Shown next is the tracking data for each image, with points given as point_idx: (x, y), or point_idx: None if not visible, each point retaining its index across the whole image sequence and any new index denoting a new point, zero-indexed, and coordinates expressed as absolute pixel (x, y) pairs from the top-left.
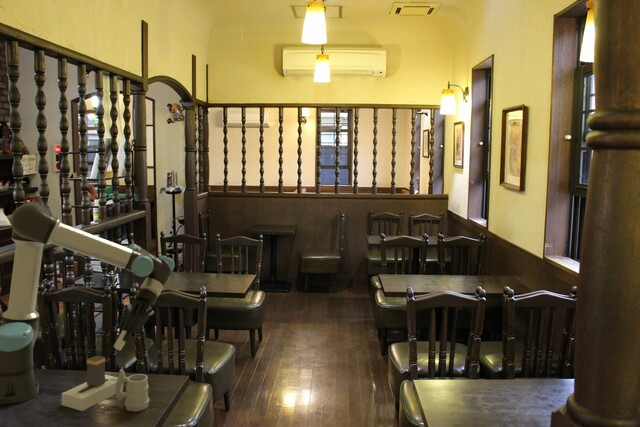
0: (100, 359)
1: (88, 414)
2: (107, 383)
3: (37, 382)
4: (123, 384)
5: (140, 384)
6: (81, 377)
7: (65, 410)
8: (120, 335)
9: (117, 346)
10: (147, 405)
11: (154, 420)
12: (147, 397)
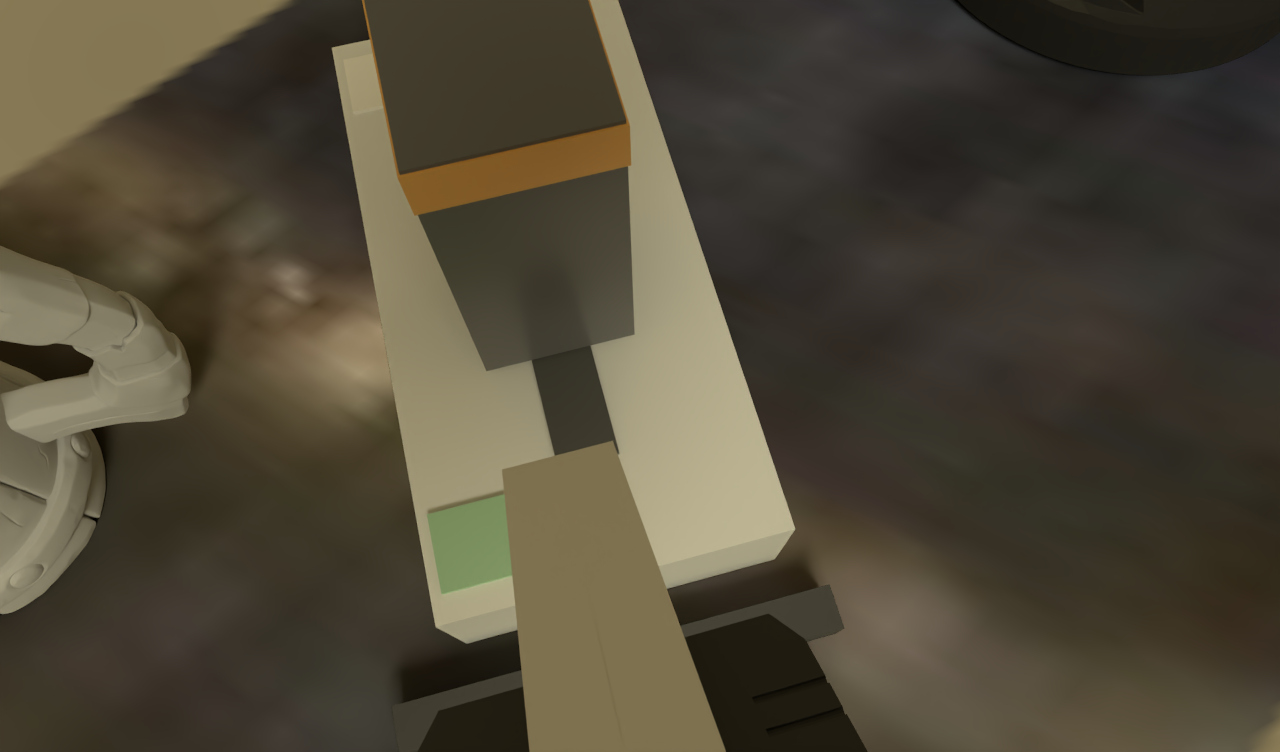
0: (382, 78)
1: (269, 133)
2: (471, 401)
3: (1130, 10)
4: (515, 682)
5: None
6: (1174, 492)
7: None
8: (661, 668)
9: (507, 496)
10: None
11: None
12: None
